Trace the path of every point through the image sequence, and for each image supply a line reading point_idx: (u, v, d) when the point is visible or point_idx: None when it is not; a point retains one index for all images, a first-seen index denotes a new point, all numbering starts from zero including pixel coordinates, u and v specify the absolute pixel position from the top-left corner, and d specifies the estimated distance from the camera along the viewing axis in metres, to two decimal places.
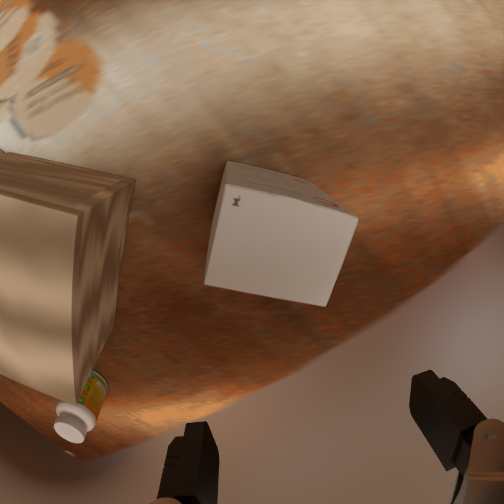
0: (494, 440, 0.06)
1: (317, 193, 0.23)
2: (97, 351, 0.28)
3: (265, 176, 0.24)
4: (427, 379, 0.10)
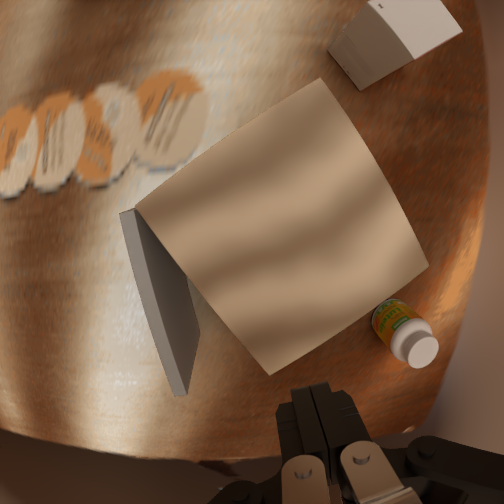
0: (360, 464, 0.07)
1: None
2: None
3: None
4: (319, 391, 0.11)
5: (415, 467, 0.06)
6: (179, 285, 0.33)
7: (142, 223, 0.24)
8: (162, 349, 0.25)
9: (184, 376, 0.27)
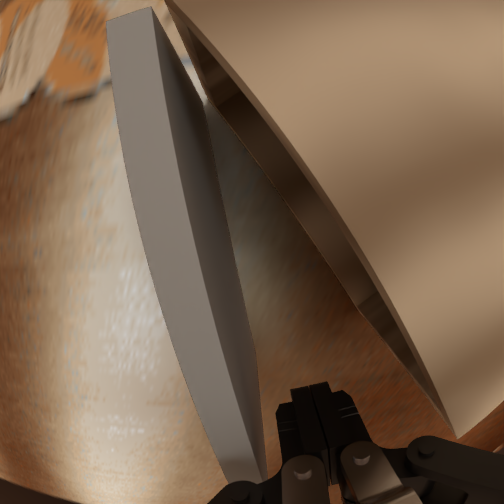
0: (360, 464, 0.07)
1: None
2: None
3: None
4: (319, 391, 0.11)
5: (415, 467, 0.06)
6: (230, 262, 0.16)
7: (168, 63, 0.08)
8: (218, 424, 0.09)
9: (262, 465, 0.11)
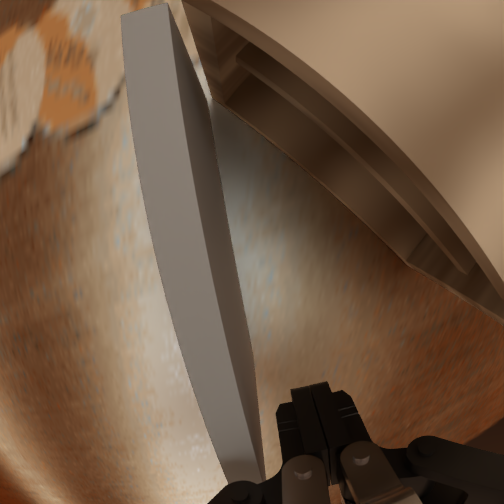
0: (360, 464, 0.07)
1: None
2: None
3: None
4: (319, 391, 0.11)
5: (415, 467, 0.06)
6: (231, 262, 0.16)
7: (181, 60, 0.08)
8: (220, 423, 0.09)
9: (261, 465, 0.11)
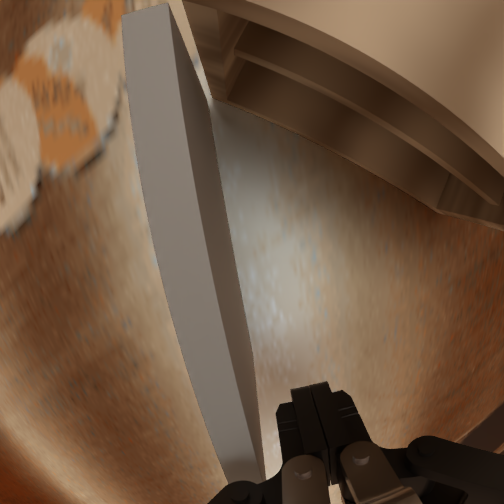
0: (360, 464, 0.07)
1: None
2: None
3: None
4: (319, 391, 0.11)
5: (415, 467, 0.06)
6: (231, 262, 0.16)
7: (182, 60, 0.08)
8: (221, 423, 0.09)
9: (261, 465, 0.11)
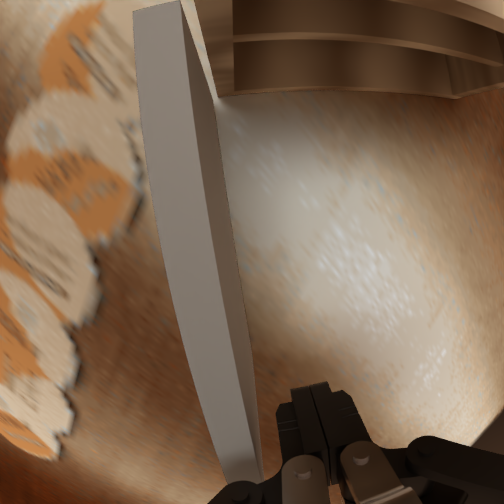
0: (360, 464, 0.07)
1: None
2: None
3: None
4: (319, 391, 0.11)
5: (415, 467, 0.06)
6: (234, 261, 0.16)
7: (191, 58, 0.08)
8: (222, 422, 0.09)
9: (260, 464, 0.11)
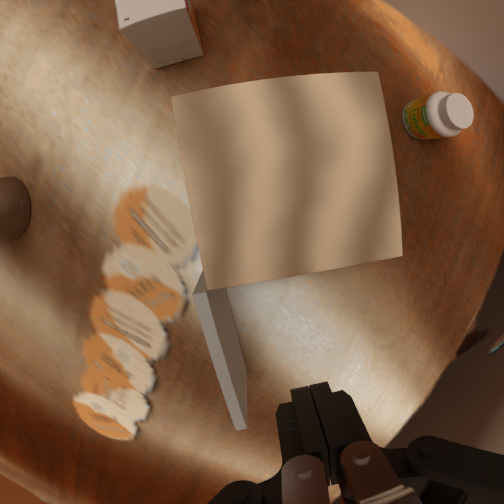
0: (360, 464, 0.07)
1: None
2: None
3: None
4: (319, 391, 0.11)
5: (415, 467, 0.06)
6: (233, 335, 0.38)
7: (211, 298, 0.29)
8: (228, 396, 0.30)
9: (244, 414, 0.32)
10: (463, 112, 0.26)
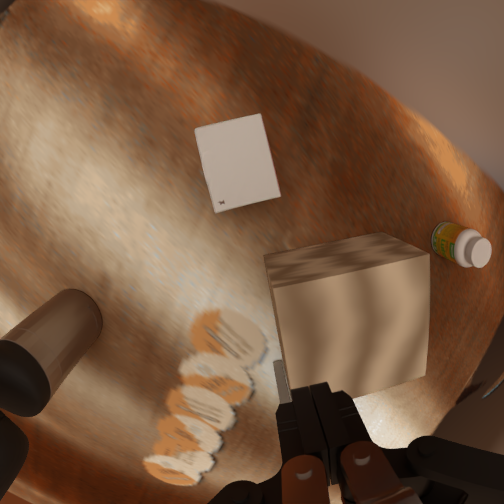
0: (360, 464, 0.07)
1: None
2: (394, 242, 0.37)
3: None
4: (319, 391, 0.11)
5: (415, 467, 0.06)
6: None
7: None
8: None
9: None
10: (483, 254, 0.35)
